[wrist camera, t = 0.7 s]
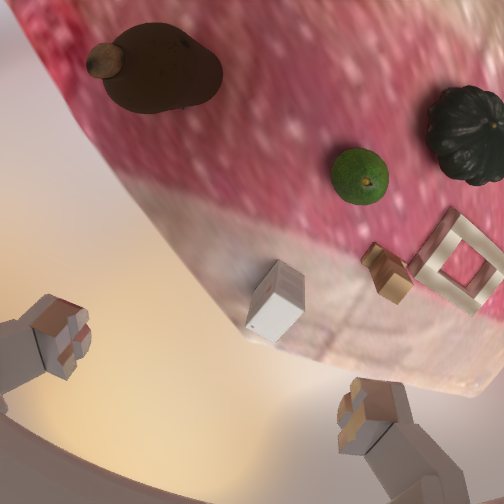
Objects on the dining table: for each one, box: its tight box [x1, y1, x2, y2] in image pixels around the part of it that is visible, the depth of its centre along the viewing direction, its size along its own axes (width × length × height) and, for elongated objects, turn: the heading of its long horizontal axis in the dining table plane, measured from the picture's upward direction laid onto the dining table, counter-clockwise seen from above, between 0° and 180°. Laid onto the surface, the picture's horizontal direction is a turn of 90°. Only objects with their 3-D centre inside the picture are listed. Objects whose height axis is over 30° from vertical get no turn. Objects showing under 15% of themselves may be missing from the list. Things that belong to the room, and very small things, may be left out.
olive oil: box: [86, 23, 223, 114], centre depth 32 cm, size 11×11×25 cm
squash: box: [426, 85, 504, 186], centre depth 35 cm, size 14×15×15 cm
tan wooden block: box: [361, 242, 414, 305], centre depth 48 cm, size 4×7×9 cm, turn 62°
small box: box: [245, 260, 305, 343], centre depth 52 cm, size 8×6×10 cm
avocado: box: [331, 148, 389, 205], centre depth 41 cm, size 8×8×12 cm
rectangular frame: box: [408, 206, 504, 317], centre depth 48 cm, size 13×17×4 cm
